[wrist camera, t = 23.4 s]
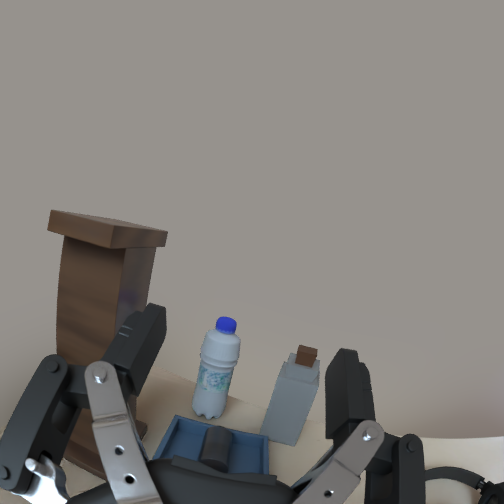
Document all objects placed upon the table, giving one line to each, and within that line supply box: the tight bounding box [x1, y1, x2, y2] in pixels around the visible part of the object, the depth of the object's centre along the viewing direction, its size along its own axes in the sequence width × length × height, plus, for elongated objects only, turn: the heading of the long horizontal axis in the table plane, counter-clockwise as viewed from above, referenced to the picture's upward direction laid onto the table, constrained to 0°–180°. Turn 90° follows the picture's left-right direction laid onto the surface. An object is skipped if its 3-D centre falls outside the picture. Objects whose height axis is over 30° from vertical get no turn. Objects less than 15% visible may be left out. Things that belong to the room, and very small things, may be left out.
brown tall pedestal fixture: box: [47, 210, 168, 481], centre depth 28 cm, size 14×10×32 cm
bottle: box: [192, 317, 240, 419], centre depth 46 cm, size 7×7×20 cm
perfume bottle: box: [259, 345, 320, 446], centre depth 44 cm, size 7×7×18 cm
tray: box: [152, 415, 269, 475], centre depth 26 cm, size 26×16×3 cm, turn 178°
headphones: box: [425, 467, 504, 504], centre depth 18 cm, size 17×7×20 cm
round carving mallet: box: [197, 426, 233, 473], centre depth 26 cm, size 21×4×4 cm, turn 179°
